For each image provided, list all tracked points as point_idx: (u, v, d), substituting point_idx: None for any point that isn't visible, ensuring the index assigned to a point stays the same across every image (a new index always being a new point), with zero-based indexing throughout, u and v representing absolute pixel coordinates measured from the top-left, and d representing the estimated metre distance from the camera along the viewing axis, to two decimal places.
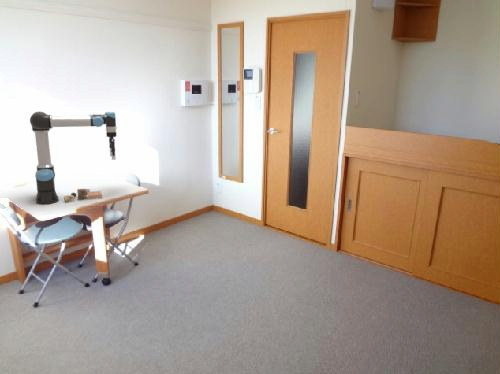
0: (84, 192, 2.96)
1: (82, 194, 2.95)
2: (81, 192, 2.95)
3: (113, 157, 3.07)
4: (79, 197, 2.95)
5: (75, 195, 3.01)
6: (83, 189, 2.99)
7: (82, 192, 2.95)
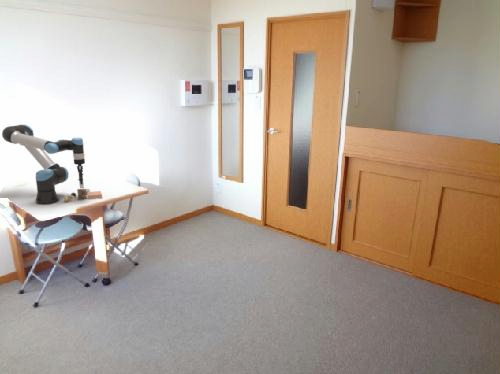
0: (84, 192, 2.96)
1: (82, 194, 2.95)
2: (81, 192, 2.95)
3: (81, 186, 2.89)
4: (79, 197, 2.95)
5: (75, 195, 3.01)
6: (83, 189, 2.99)
7: (82, 192, 2.95)
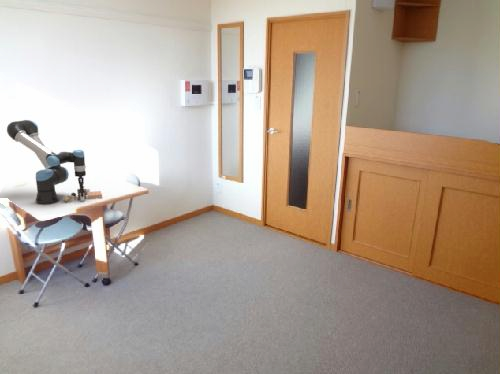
0: (84, 192, 2.96)
1: None
2: None
3: (82, 198, 2.93)
4: (79, 197, 2.95)
5: (75, 195, 3.01)
6: None
7: None
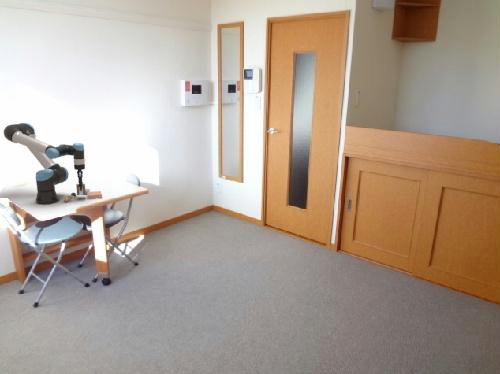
0: (83, 187, 2.95)
1: None
2: None
3: (80, 192, 2.94)
4: (78, 192, 2.94)
5: (75, 195, 3.01)
6: (82, 184, 2.98)
7: None
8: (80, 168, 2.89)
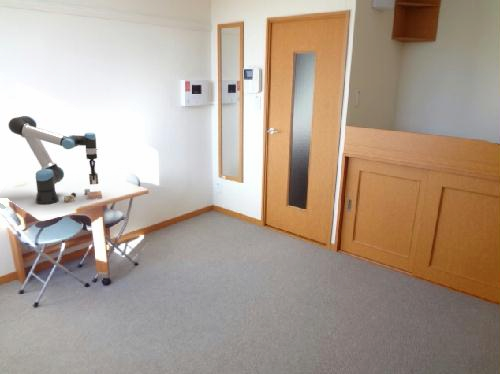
0: (96, 176, 2.98)
1: None
2: None
3: (93, 181, 2.97)
4: (91, 181, 2.97)
5: (75, 195, 3.01)
6: (95, 173, 3.01)
7: None
8: (92, 157, 2.93)
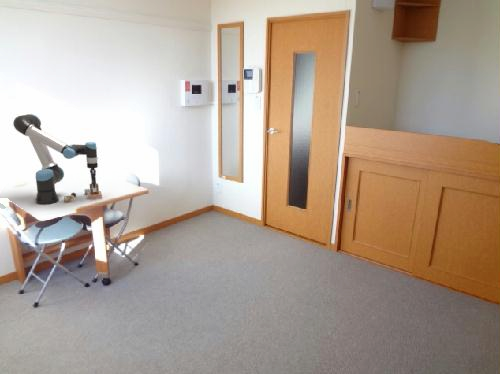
0: (96, 186, 3.00)
1: None
2: None
3: (94, 189, 2.96)
4: (91, 191, 3.00)
5: (75, 195, 3.01)
6: None
7: None
8: (93, 166, 2.95)
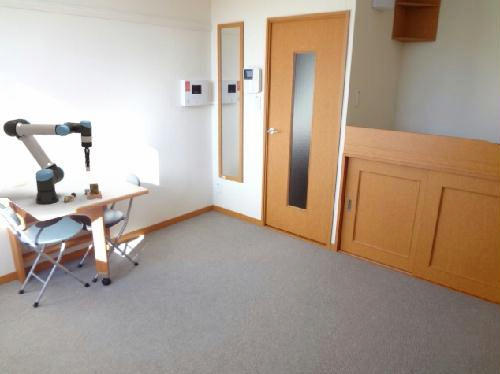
0: (96, 186, 3.00)
1: (95, 188, 3.00)
2: (93, 186, 2.99)
3: (87, 168, 2.91)
4: (91, 191, 3.00)
5: (75, 195, 3.01)
6: (95, 184, 3.03)
7: (94, 186, 2.99)
8: (87, 145, 2.90)
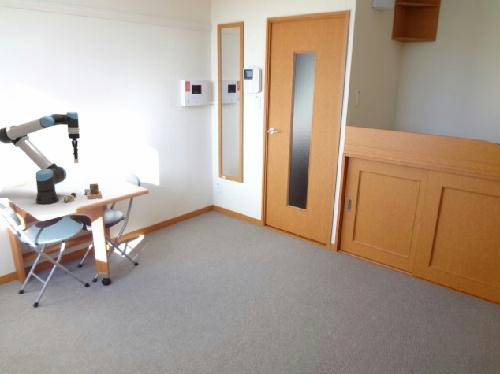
0: (96, 186, 3.00)
1: (95, 188, 3.00)
2: (93, 186, 2.99)
3: (76, 160, 2.87)
4: (91, 191, 3.00)
5: (75, 195, 3.01)
6: (95, 184, 3.03)
7: (94, 186, 2.99)
8: (75, 137, 2.86)
